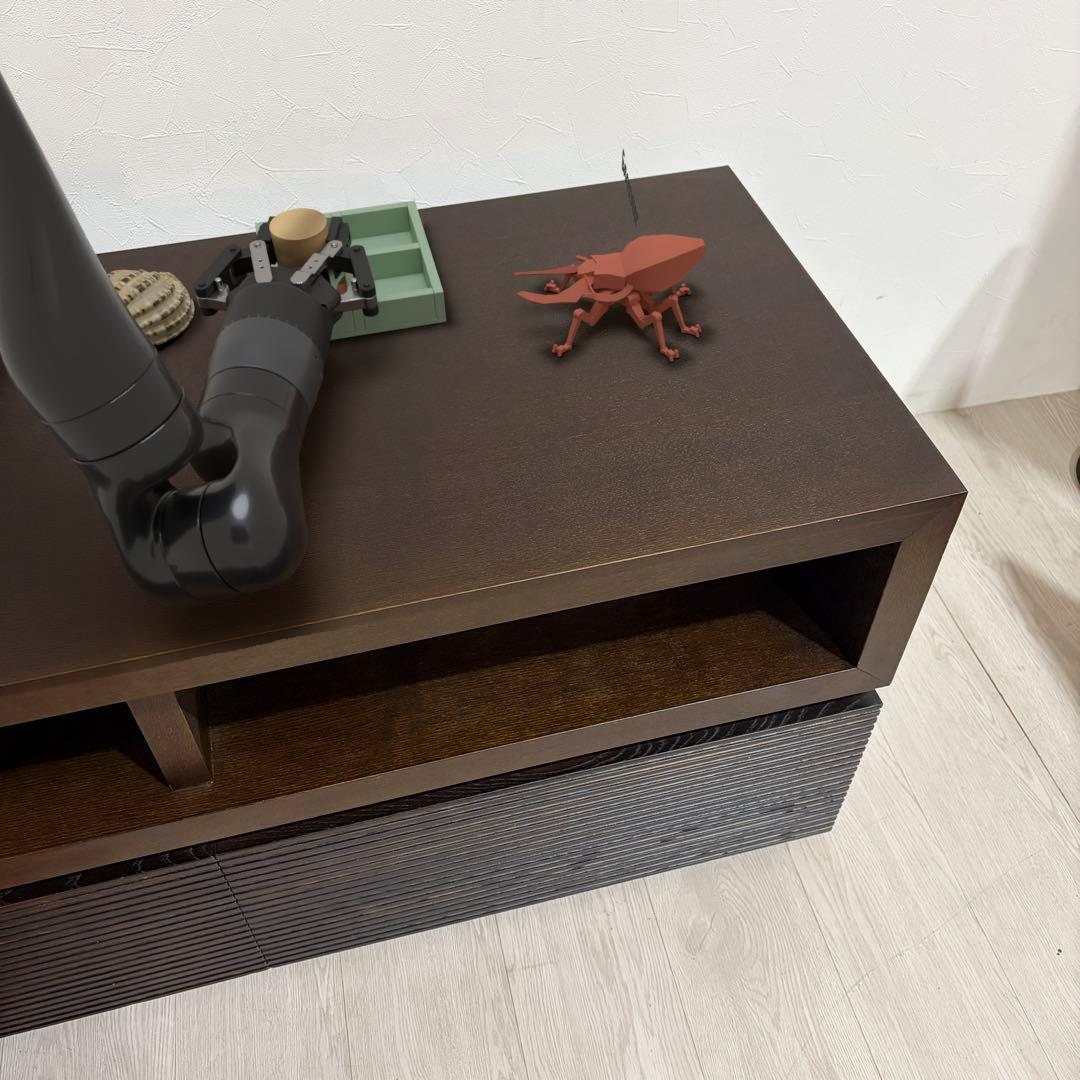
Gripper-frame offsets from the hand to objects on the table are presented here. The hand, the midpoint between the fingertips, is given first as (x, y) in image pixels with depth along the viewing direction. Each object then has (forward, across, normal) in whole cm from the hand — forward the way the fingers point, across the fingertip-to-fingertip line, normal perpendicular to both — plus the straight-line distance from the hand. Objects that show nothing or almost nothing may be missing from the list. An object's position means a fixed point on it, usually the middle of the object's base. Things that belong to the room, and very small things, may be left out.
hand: (307, 226), depth 88 cm
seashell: (-4, +14, +7) cm, 16 cm away
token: (-3, 0, +6) cm, 7 cm away
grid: (+1, -2, +7) cm, 7 cm away
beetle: (-3, -24, +7) cm, 25 cm away
